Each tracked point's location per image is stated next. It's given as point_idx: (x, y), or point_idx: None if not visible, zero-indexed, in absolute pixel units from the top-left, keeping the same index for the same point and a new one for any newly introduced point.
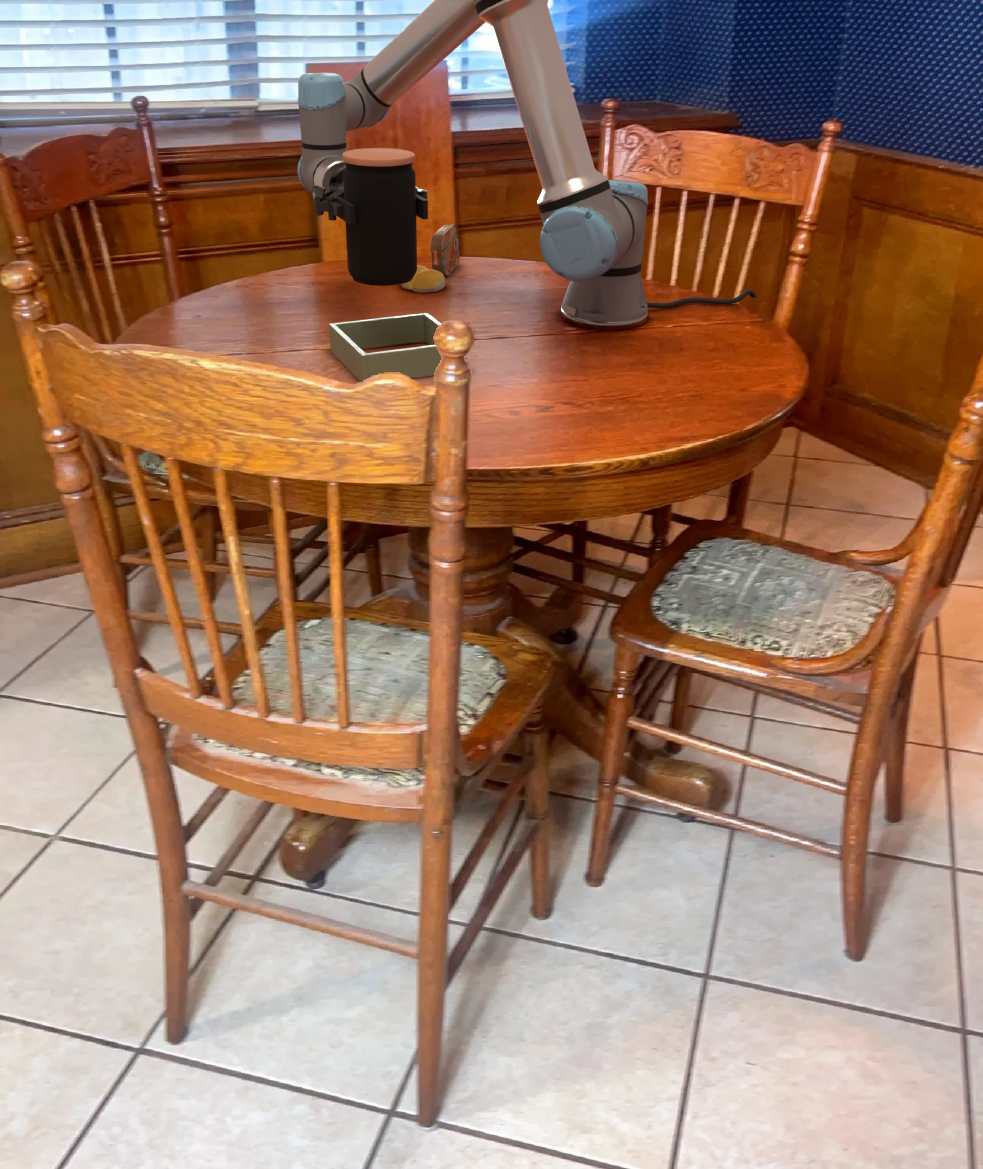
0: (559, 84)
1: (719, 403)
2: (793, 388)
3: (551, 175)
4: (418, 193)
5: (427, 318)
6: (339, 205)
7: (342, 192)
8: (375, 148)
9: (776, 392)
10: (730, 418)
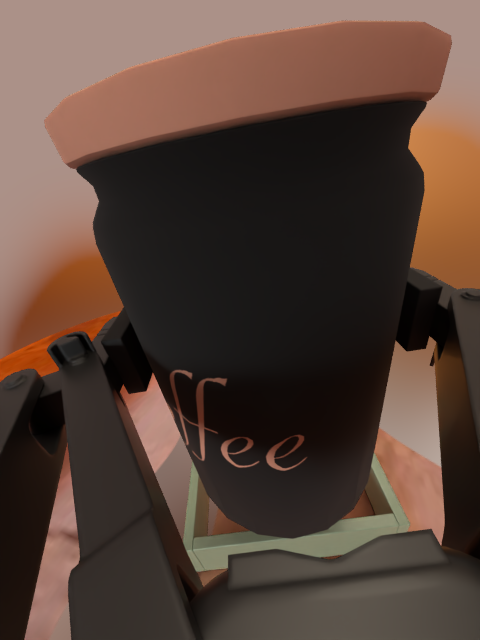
0: None
1: (91, 333)
2: (29, 345)
3: None
4: (36, 392)
5: (195, 516)
6: None
7: (469, 388)
8: (177, 60)
9: (45, 341)
10: (108, 319)
